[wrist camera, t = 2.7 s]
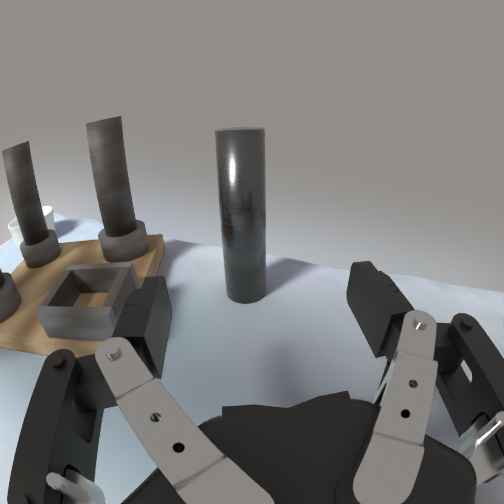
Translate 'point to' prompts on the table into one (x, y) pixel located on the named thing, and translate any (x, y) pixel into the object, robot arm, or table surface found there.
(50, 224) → the ramekin
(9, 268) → the table surface
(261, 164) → the stool leg
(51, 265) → the stool seat
